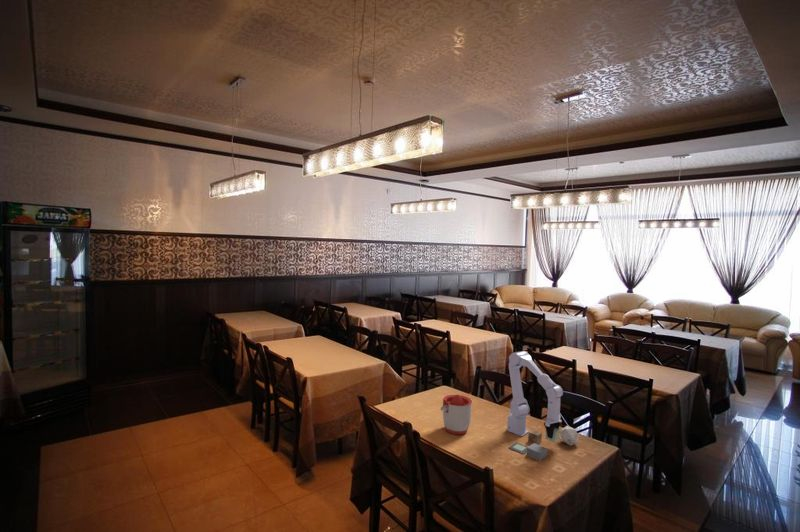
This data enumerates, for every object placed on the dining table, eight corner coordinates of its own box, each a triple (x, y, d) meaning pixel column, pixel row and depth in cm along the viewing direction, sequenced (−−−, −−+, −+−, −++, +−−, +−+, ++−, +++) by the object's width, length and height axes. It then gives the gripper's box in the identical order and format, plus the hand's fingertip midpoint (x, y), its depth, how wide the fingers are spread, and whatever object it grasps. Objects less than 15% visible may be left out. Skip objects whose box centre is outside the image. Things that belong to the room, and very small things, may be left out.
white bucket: (434, 426, 219) (435, 391, 218) (461, 422, 225) (463, 388, 224) (447, 439, 204) (448, 401, 203) (476, 434, 210) (477, 398, 210)
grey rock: (562, 447, 201) (575, 435, 197) (552, 432, 208) (565, 420, 205) (572, 450, 205) (585, 438, 201) (562, 435, 212) (575, 423, 208)
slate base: (526, 455, 191) (526, 447, 191) (533, 450, 196) (534, 443, 196) (540, 461, 186) (540, 453, 186) (547, 456, 191) (547, 448, 190)
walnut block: (528, 441, 205) (528, 432, 205) (532, 438, 209) (532, 429, 208) (537, 445, 201) (537, 435, 201) (541, 441, 205) (541, 432, 205)
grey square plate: (508, 448, 197) (508, 447, 197) (515, 443, 203) (516, 441, 203) (523, 454, 191) (523, 453, 191) (530, 448, 197) (530, 447, 197)
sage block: (545, 438, 199) (545, 429, 198) (549, 435, 202) (549, 426, 202) (555, 442, 195) (555, 432, 195) (559, 439, 199) (559, 429, 199)
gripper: (555, 416, 190) (554, 443, 191) (567, 408, 201) (565, 434, 201) (541, 411, 195) (540, 438, 195) (553, 404, 205) (552, 429, 206)
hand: (552, 436), depth 199 cm, fingers closed on sage block, 5 cm apart
